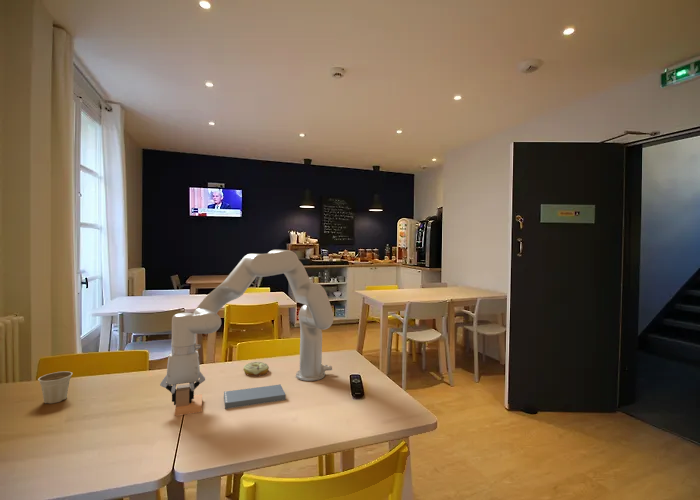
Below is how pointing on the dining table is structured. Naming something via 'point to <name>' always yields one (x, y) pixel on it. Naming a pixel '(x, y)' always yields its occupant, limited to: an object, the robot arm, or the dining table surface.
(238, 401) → the board
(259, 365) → the decorated donut
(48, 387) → the flower pot
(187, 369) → the robot arm
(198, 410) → the stub
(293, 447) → the dining table surface
